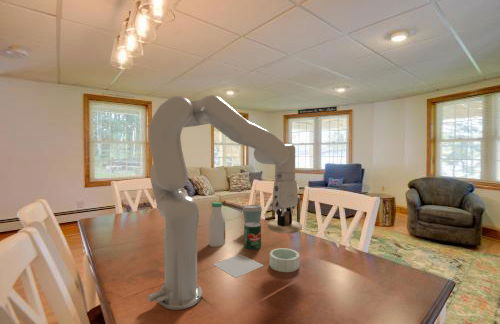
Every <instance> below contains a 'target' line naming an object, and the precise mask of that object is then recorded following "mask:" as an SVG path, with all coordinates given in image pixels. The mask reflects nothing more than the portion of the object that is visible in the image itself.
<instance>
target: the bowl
mask: <svg viewBox="0 0 500 324" xmlns="http://www.w3.org/2000/svg"><path fill="white" fill-rule="evenodd" d="M269 267H270V268H271V269H272V270H274V271H276V272H280V273H291V272H295V271H297V270H299V268H300V253H299V252H298V251H296V250H294V249H291V248H285V247H280V248H274V249H271V250H270V252H269Z"/></svg>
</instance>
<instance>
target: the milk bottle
mask: <svg viewBox="0 0 500 324" xmlns="http://www.w3.org/2000/svg"><path fill="white" fill-rule="evenodd" d="M222 206H223V203H222V202H220V201H215V202H211V208H212V209H211V213H210V215H209V218H208V219H209V220H208V244H209V247H211V248H214V247H221V246H225V244H226V220H225V219H226V218H225V216H224V212H223V209H222V208H223V207H222Z"/></svg>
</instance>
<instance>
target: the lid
mask: <svg viewBox="0 0 500 324" xmlns="http://www.w3.org/2000/svg"><path fill="white" fill-rule="evenodd" d="M284 216H285V226H284V227H283V226H279V225H278V224H277V219H275V220H271V221H268V222H267V229H268V230H269V231H271V232H274V233H279V234H296V233H298V232H301V231H303V225H302V224H301V222H299V221H295V220H292V224H289V212H288V211H286V210H284Z"/></svg>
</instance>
